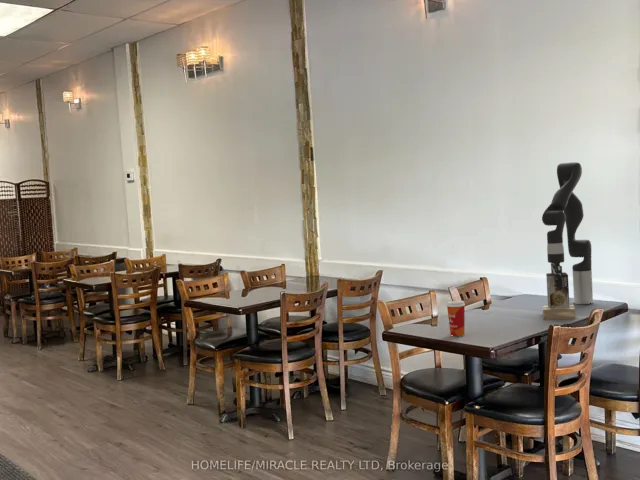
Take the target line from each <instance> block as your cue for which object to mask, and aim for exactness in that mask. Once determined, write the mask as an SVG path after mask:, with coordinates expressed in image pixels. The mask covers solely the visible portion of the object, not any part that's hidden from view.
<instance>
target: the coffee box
mask: <svg viewBox="0 0 640 480" xmlns="http://www.w3.org/2000/svg"><path fill="white" fill-rule="evenodd" d="M545 276H546V296H547V305H548V306H549V308H550V309H551V308H569V307H570V288H569V287H570V286H569V274H568V273H567V272H563V271H562V277H563V278H562V279H561V284H562V287H557V286H556V275H554V273H551V272H550V273H548V272H547V273H546V274H545ZM558 276H560V275H558Z"/></svg>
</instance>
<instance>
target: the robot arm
mask: <svg viewBox="0 0 640 480" xmlns="http://www.w3.org/2000/svg"><path fill="white" fill-rule="evenodd" d="M582 174H583V168H582V166H581V163H580V162H561V163H558V165H557V167H556V175H557V180H558V185H559V189H557V190H556V191H555V193H554V195H553V196H552V201H551V203H550V204H549V205H548V206H547V208H546V209H545V210H544V211H543V213H542V216H541V221H542V224H544V226H548V227H550V226H555V229H552V230H548V231H547V233H546V237H547V238H546V240H547V241H546V242H547V246H546V251H547V256H546V257H547V263H550V273H554V275H556V286H557V287H562V284H561V279H562V278H563V277H562V273H563V266H562V265H561V263H564V262H565V246H564V237H563V236H564V235H563V234H564V228H566V234H567V235H566V236H567V248H568V249H567V250H568V254H569V256H570V257H571V258H583V260H581V261H580V262H578V263H574V264H573V265H572V267H571V268H572V287H573V290H572V291H573V303H574V304H576V305H591V304H593V303H594V297H593V296H594V294H593V293H594V291H593V275H592V242H591V241H590V239H577V238H576V233H577V230H578V228H579V226H580V225H581V223H582V221H583V219H584V217H585V216H584V215H585V214H584V209H583V208H584V207H583V203H582V201H581V200H580V198H579V197H578V196H577V195H576V194H575V193H574V192H573V191H574V190H575V189H576V186H577V185H578V183H579V181H580V180H581V178H582ZM565 226H566V227H565ZM558 275H560V276H558ZM590 303H591V304H590Z"/></svg>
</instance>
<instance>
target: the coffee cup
mask: <svg viewBox="0 0 640 480" xmlns="http://www.w3.org/2000/svg"><path fill="white" fill-rule="evenodd" d="M465 306H466V304H465V301H463V300H450V301H447V302H446V307H447V316H448V325H449V333H450V336H451V335H453V336H461V337H464V336H465V324H466V323H465V315H466V314H465V312H466V311H465V308H466V307H465ZM463 335H464V336H463ZM453 336H452V337H453Z"/></svg>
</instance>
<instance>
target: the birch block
mask: <svg viewBox="0 0 640 480" xmlns="http://www.w3.org/2000/svg"><path fill="white" fill-rule="evenodd" d="M569 304H570V303H569ZM542 316H543V320H565V319H566V320H568V319H569V320H570V319H571V320H575V319H576V309H575V306H574V304H570V307H569V308H551V309H550V308H549V306H548V304H542Z"/></svg>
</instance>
